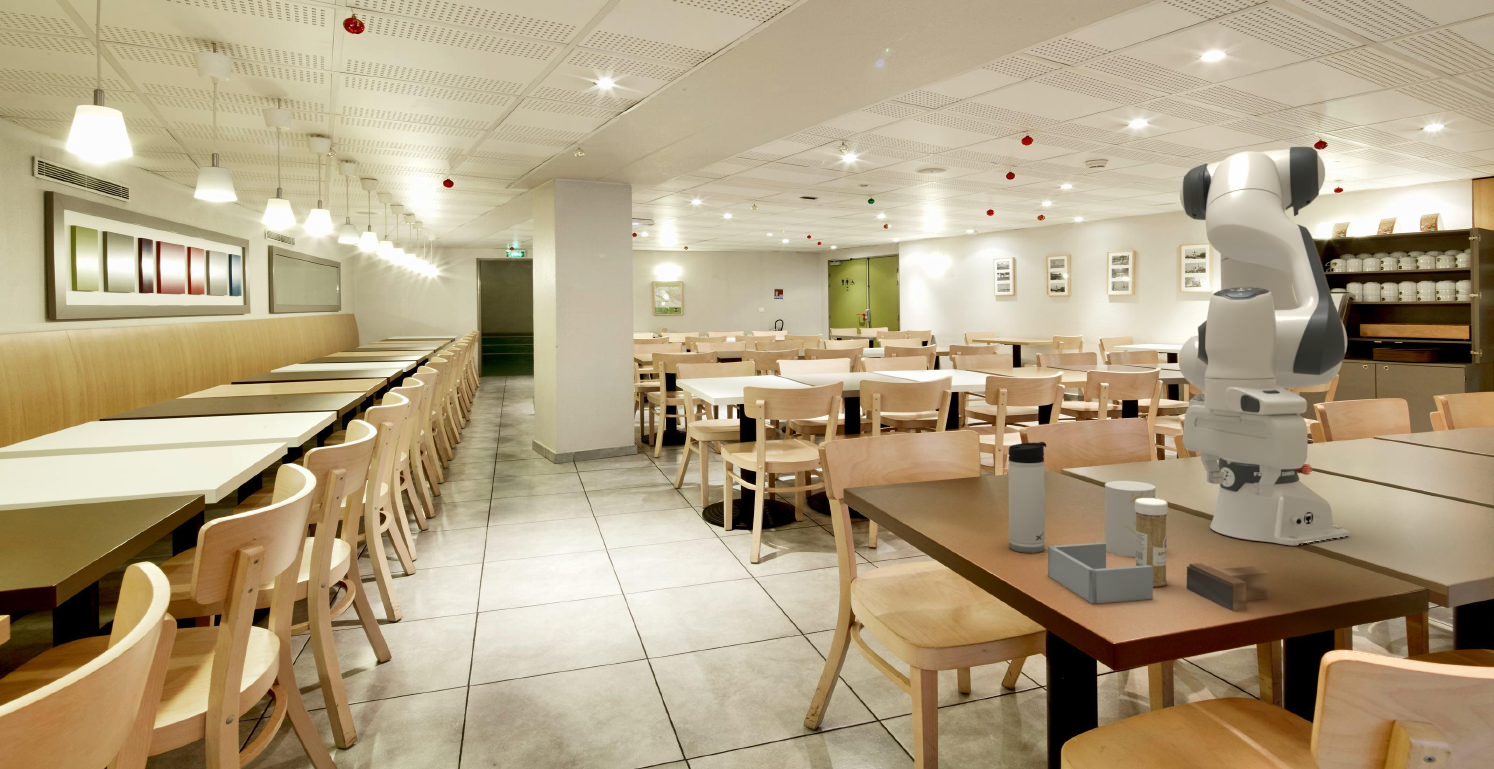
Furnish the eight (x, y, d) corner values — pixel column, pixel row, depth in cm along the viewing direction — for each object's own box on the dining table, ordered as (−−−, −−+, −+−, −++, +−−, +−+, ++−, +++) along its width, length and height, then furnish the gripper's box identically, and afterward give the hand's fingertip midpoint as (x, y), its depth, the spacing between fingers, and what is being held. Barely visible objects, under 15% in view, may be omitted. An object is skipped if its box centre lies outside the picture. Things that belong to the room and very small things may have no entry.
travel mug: (1049, 553, 134) (1049, 445, 133) (1011, 552, 136) (1010, 445, 134) (1043, 543, 140) (1042, 439, 139) (1006, 542, 142) (1005, 439, 140)
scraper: (1236, 584, 116) (1236, 560, 116) (1283, 606, 107) (1284, 579, 107) (1186, 588, 115) (1186, 563, 115) (1230, 610, 106) (1230, 583, 106)
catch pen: (1103, 571, 124) (1103, 542, 124) (1152, 598, 112) (1153, 566, 111) (1047, 575, 123) (1047, 546, 123) (1091, 603, 111) (1091, 571, 110)
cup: (1135, 559, 129) (1136, 492, 128) (1095, 548, 137) (1095, 484, 136) (1164, 551, 133) (1165, 486, 132) (1123, 541, 140) (1123, 478, 139)
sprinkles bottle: (1169, 588, 115) (1169, 504, 114) (1136, 585, 117) (1136, 502, 116) (1164, 579, 120) (1165, 497, 119) (1132, 576, 121) (1133, 496, 120)
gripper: (1172, 392, 120) (1171, 477, 120) (1275, 403, 99) (1273, 504, 100) (1208, 391, 120) (1207, 475, 121) (1318, 401, 100) (1316, 502, 101)
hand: (1238, 489), depth 110 cm, fingers open, 8 cm apart
